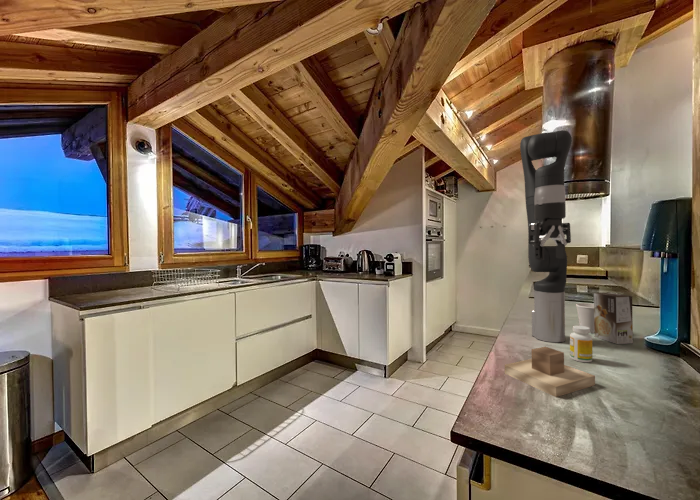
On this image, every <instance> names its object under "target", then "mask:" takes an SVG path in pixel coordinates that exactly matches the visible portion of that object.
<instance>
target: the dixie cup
mask: <svg viewBox="0 0 700 500" xmlns="http://www.w3.org/2000/svg"><path fill="white" fill-rule="evenodd" d="M575 306H576V311H577V317H578V323H579V325H578V326H585V327H588V328H590V333H589V334H595V333H594V303H589V302H588V303H587V302H580V303H579V302H578V303H576V304H575Z"/></svg>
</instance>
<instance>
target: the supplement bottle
mask: <svg viewBox="0 0 700 500" xmlns="http://www.w3.org/2000/svg"><path fill="white" fill-rule="evenodd" d="M569 358H570V359H571V360H572V361H575V362H576V361H577V362H580V363H591V362H592V361H593V336H592V335H591V333H590V328H588V327H585V326H580V325H573V326H572V332H571V333H570V335H569Z"/></svg>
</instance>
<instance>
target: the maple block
mask: <svg viewBox="0 0 700 500" xmlns="http://www.w3.org/2000/svg"><path fill="white" fill-rule="evenodd" d="M504 374H505V375H506V376H510V377H511V378H513V379H516V380H517V381H520V382H523V383H524V384H526V385H528V386H531V387H533V388H535V389H537V390H539V391H541V392H543V393H546V394H548V395H551V396H553V397H555V398H559V397H561V396H563V395H568V394H572V393H573V392H577V391H581V390H584V389H588V388H590V387H593V386H596V375H594V374H591V373H589V372H586V371H582V370H580V369H577V368H574V367H571V366H568V365H566V364H564V373H559V374H555V375H551V376H549V375H547V374H544V373H542V372H540V371H537V370H535V369H532V358H528V359H523V360H520V361H517V362H516V361H515V362H511V363H506V364H504Z"/></svg>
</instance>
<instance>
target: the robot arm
mask: <svg viewBox="0 0 700 500" xmlns="http://www.w3.org/2000/svg"><path fill="white" fill-rule="evenodd" d="M572 142H573V137H572V135H571V133H570V132H569V131H567V130H556V131H549V132H543V133H537V134H532V135H528V136H523V137H522V138H521V140H520V145H519V146H520V147H519V150H520V157H521V164H522V169H523V170H522V171H523V177H524V178H523V179H524V180H523V181H524V197H525V198H524V199H525V208H526V209H525V210H526V216H527V217H526V218H527V219H526V220H527V231H528V234H527V235H528V238H527V239H528V243H527V244H528V246H527V251H528V253H527V254H528V256H527V258H528V263H529V267H530V269H531V270H532V271H533V272H535V273H548V275H547V276H545V277H544V278H543V279H540V280H537V281H535V282H534V284H533V290H534V291H533V292H534V293H533V299H534V300H533V301H534V302H533V303H534V304H533V306H534V308H533V310H532V311H531V336H532V337H534V338H535V339H537V340H540V341H544V342H549V343H562V342H566V304H565V303H566V298H565V296H566V295H565V293H566V292H565V291H566V290H565V289H566V285H567V273H568V272H567V271H568V256H567V252H566V246H567V244H571V241H572V238H571V237H572V235H571V224H570V222H562V220H563V219H565V218H566V217H567V216H566V215H567V214H566V213H567V212H566V208H567V207H566V205H567V204H566V189H565V168H566V163H567V160H568V155H569V153H570V150H571V146H572V144H573V143H572ZM550 158H555V161H554V162H551V163H550V164H546V165H543V166H540V167H538V168H537V169H536V168H535V166H534V164H533V162H532V161H538V160H543V159H550ZM549 239H550V240H552V241H553V242H554V244H555V245H549V246H548V245H546V246H545V244H546V241H548V240H549Z"/></svg>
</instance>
